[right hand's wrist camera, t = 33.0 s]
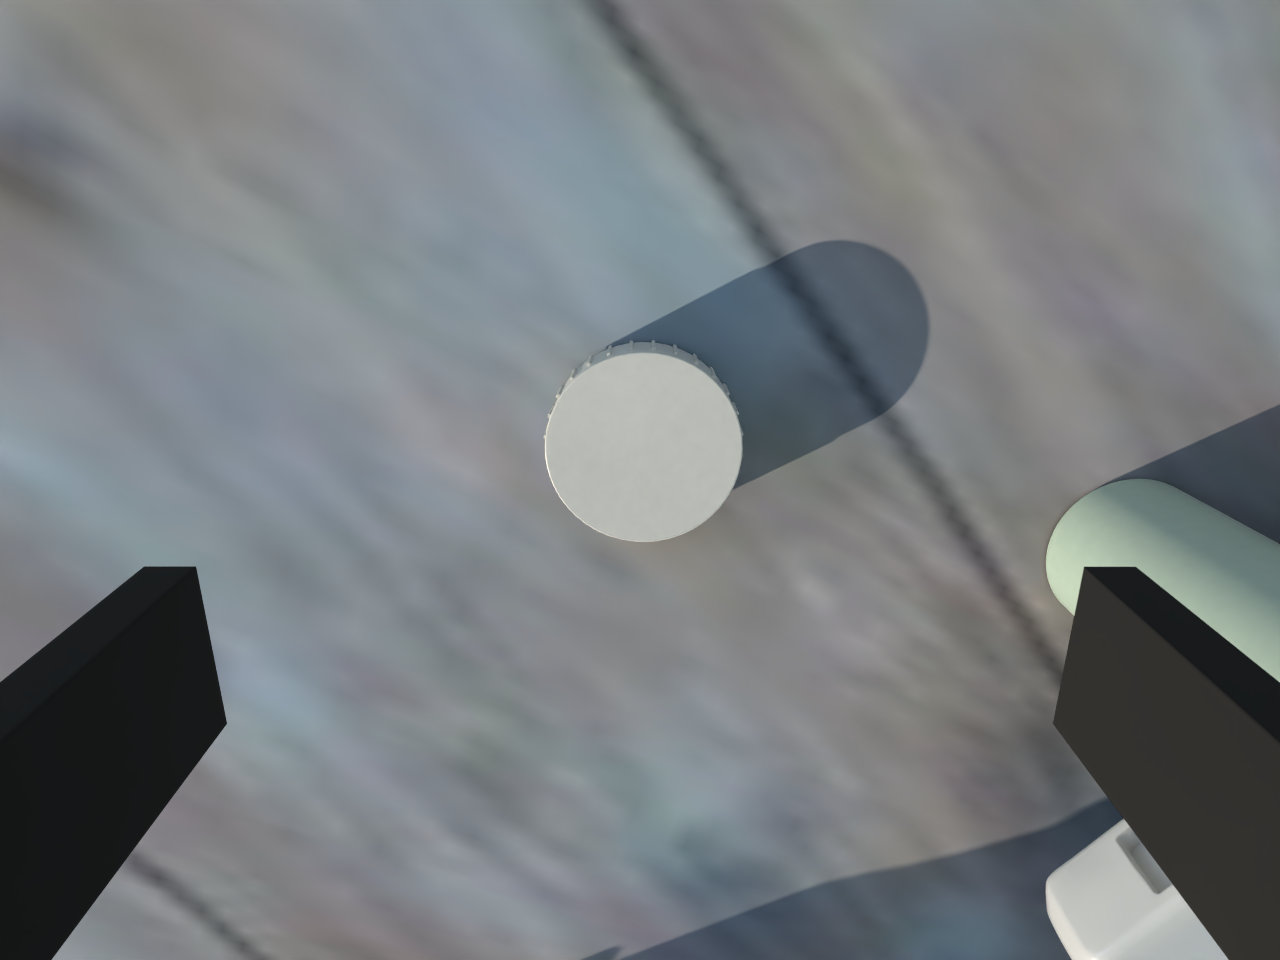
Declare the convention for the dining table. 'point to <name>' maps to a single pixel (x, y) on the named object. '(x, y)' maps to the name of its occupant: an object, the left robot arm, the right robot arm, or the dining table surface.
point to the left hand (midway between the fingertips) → (1226, 623)
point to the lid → (643, 442)
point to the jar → (1176, 559)
